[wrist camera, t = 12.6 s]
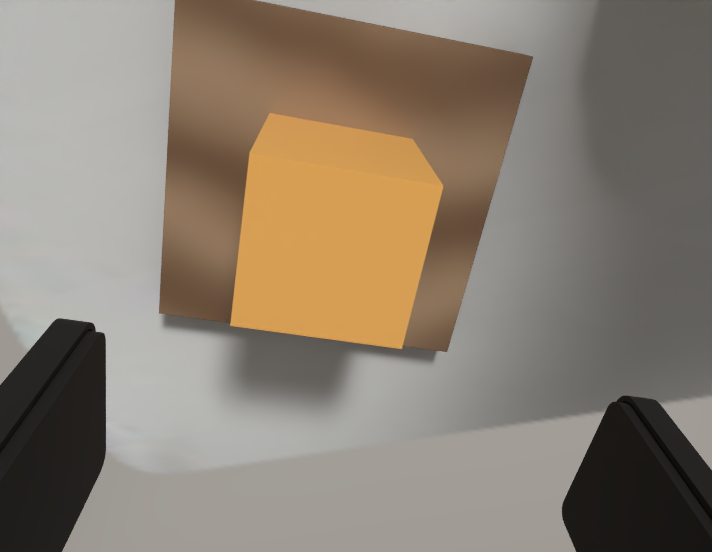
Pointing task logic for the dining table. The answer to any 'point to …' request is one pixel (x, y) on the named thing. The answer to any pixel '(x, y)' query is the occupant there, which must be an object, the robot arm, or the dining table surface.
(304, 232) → the plain orange cube
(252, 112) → the walnut board
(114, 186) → the dining table surface
